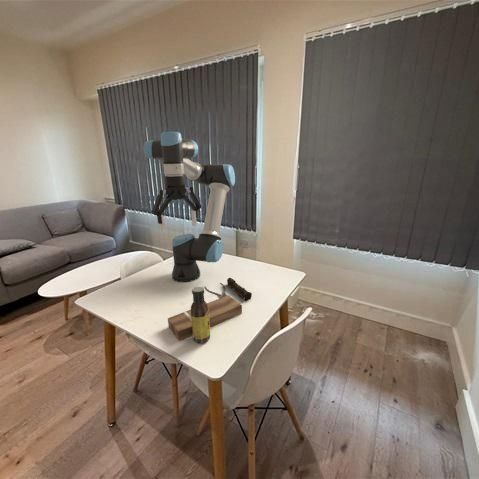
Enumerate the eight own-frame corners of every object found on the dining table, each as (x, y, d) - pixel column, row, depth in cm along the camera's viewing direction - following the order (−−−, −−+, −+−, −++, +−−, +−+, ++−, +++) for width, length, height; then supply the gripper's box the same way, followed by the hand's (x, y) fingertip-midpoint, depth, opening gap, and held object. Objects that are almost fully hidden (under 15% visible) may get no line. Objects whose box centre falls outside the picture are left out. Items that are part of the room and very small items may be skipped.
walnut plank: (168, 327, 101) (167, 318, 100) (228, 303, 117) (228, 295, 116) (179, 341, 94) (178, 331, 92) (242, 313, 109) (241, 304, 108)
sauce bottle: (213, 340, 94) (210, 291, 87) (196, 346, 91) (192, 295, 85) (207, 330, 99) (203, 283, 93) (190, 335, 96) (186, 287, 90)
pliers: (218, 281, 137) (243, 296, 122) (218, 282, 137) (243, 297, 122) (202, 286, 131) (226, 303, 116) (202, 288, 131) (226, 305, 116)
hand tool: (252, 299, 120) (252, 290, 119) (244, 302, 118) (244, 292, 117) (232, 283, 136) (232, 275, 134) (225, 285, 134) (225, 277, 132)
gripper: (144, 178, 91) (152, 236, 97) (207, 173, 105) (210, 225, 111) (138, 176, 96) (145, 232, 103) (198, 173, 110) (201, 221, 117)
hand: (179, 228), depth 107 cm, fingers open, 13 cm apart
